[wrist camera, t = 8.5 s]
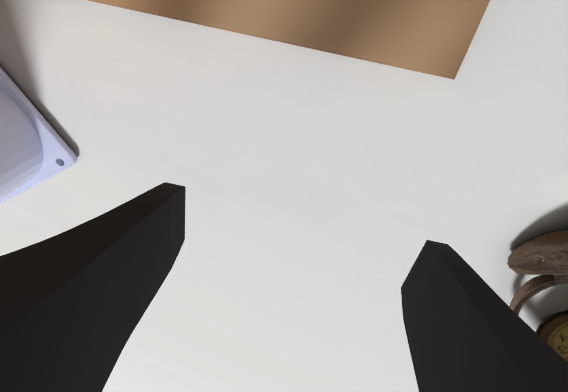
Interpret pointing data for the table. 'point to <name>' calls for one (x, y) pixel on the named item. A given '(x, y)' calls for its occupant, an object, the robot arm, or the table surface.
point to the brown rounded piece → (544, 282)
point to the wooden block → (343, 26)
